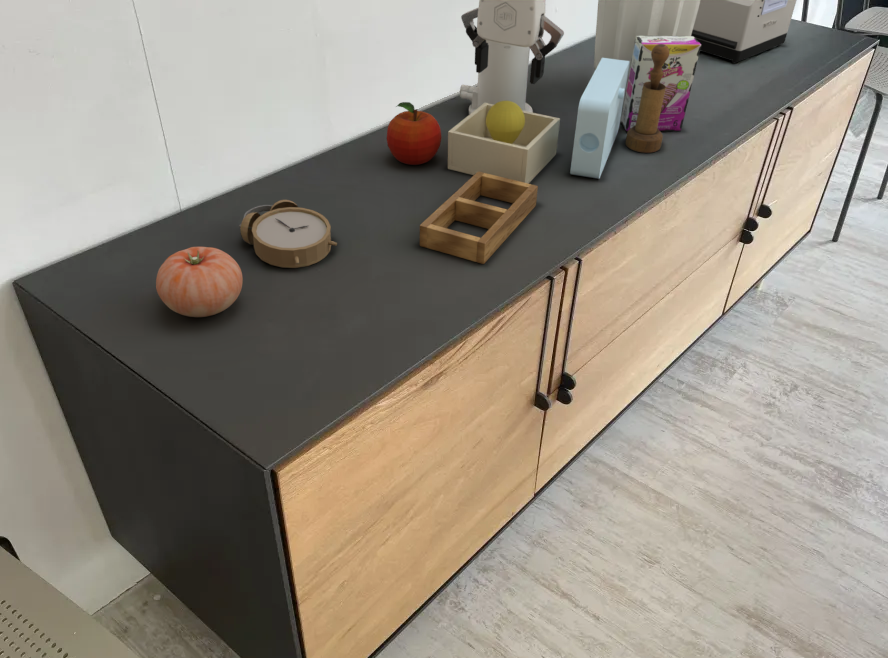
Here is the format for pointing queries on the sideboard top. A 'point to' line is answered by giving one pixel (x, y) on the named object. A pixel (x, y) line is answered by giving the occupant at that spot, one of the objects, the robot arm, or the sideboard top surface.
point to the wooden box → (502, 147)
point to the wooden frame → (478, 217)
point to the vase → (639, 24)
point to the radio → (599, 117)
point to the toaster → (741, 26)
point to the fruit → (413, 136)
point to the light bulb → (505, 121)
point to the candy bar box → (674, 78)
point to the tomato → (199, 281)
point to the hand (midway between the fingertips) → (508, 75)
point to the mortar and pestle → (650, 107)
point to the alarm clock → (287, 234)
